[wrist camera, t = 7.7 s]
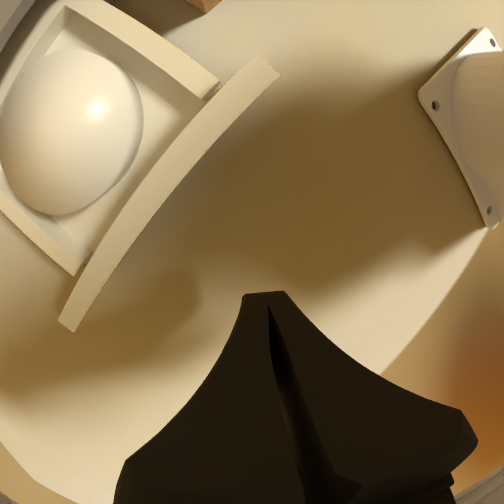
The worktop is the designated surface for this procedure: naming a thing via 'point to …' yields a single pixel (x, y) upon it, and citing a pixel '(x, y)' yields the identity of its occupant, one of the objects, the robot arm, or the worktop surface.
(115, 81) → the disc
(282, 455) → the robot arm
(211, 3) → the block
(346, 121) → the worktop surface
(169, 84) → the tray
